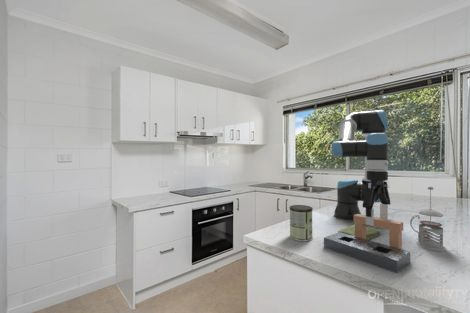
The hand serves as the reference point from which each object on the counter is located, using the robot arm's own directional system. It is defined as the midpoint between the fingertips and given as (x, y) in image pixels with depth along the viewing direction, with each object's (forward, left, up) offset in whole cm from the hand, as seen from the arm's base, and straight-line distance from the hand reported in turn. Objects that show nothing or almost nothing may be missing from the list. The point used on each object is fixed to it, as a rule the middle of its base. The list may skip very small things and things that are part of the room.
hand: (377, 222), depth 94 cm
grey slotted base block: (0, -12, -11) cm, 16 cm away
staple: (0, 0, -11) cm, 11 cm away
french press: (+12, +19, -11) cm, 25 cm away
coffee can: (-26, -16, -11) cm, 32 cm away
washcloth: (-12, +11, -11) cm, 20 cm away
